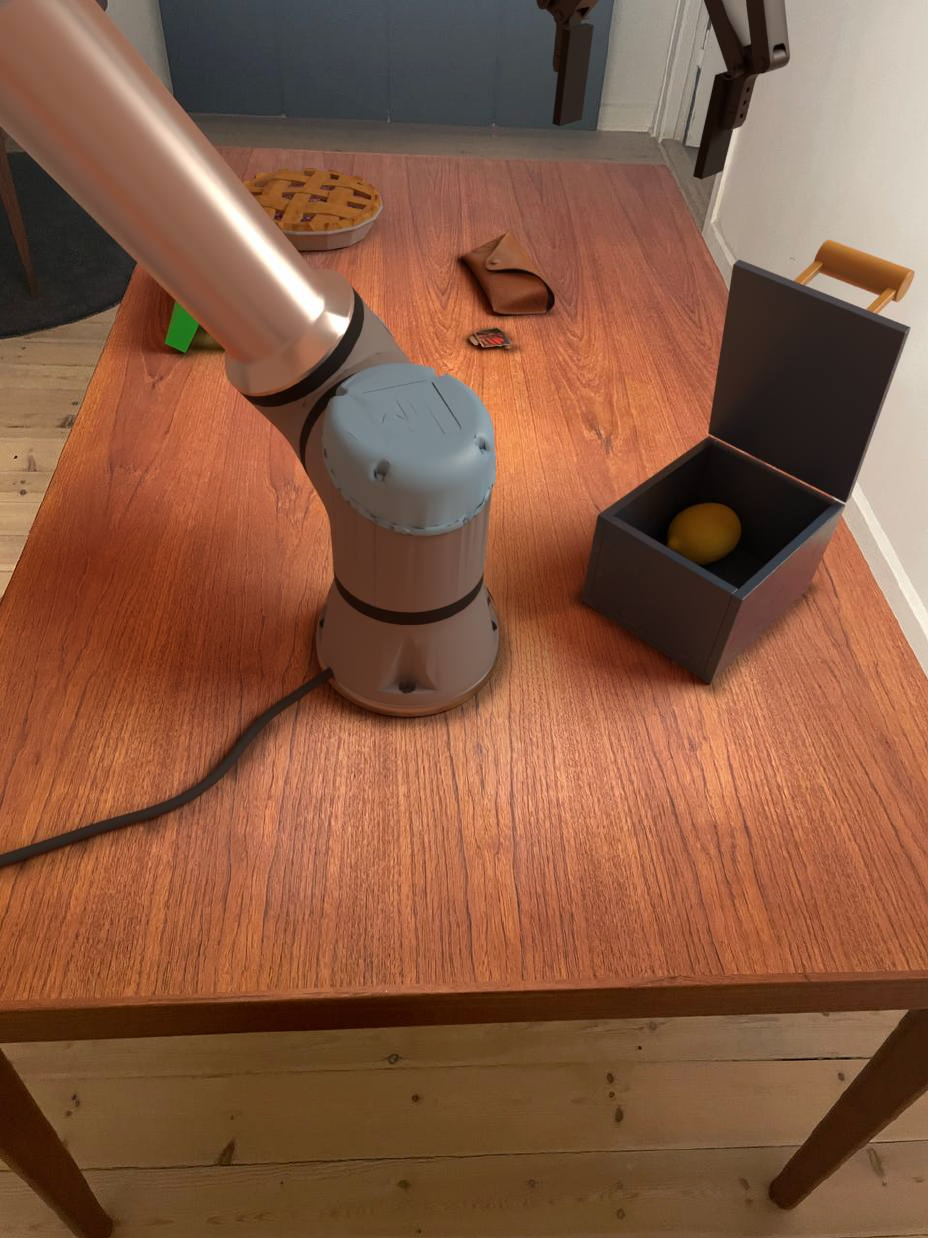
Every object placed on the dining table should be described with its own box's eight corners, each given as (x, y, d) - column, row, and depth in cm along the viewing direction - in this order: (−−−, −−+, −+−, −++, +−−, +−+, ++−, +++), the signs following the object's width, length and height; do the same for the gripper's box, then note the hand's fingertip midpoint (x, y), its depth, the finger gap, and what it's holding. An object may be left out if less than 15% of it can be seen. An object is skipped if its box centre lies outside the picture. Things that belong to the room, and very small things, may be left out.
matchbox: (495, 327, 115) (495, 324, 115) (518, 346, 112) (518, 342, 112) (464, 336, 113) (464, 332, 113) (486, 355, 110) (486, 351, 110)
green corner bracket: (243, 381, 110) (268, 334, 106) (164, 344, 106) (187, 293, 102) (254, 301, 124) (277, 257, 120) (184, 265, 120) (206, 218, 116)
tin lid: (905, 333, 62) (967, 268, 65) (732, 264, 69) (796, 207, 72) (845, 503, 77) (898, 443, 80) (707, 433, 83) (761, 380, 86)
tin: (710, 685, 75) (742, 600, 68) (580, 600, 82) (597, 514, 75) (808, 588, 84) (846, 504, 77) (684, 518, 91) (709, 435, 83)
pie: (376, 260, 127) (375, 224, 123) (218, 251, 126) (213, 214, 123) (389, 199, 142) (389, 165, 138) (249, 190, 141) (245, 156, 138)
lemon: (668, 584, 84) (735, 559, 87) (697, 560, 79) (767, 534, 82) (641, 533, 85) (708, 510, 88) (667, 505, 80) (738, 482, 83)
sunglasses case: (455, 253, 129) (481, 210, 125) (494, 274, 133) (520, 234, 129) (494, 314, 117) (523, 269, 113) (535, 335, 121) (564, 292, 117)
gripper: (925, -216, 50) (803, 185, 65) (580, -254, 62) (545, 93, 77) (858, -215, 46) (745, 211, 61) (504, -255, 58) (483, 111, 73)
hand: (634, 146), depth 69 cm, fingers open, 13 cm apart
